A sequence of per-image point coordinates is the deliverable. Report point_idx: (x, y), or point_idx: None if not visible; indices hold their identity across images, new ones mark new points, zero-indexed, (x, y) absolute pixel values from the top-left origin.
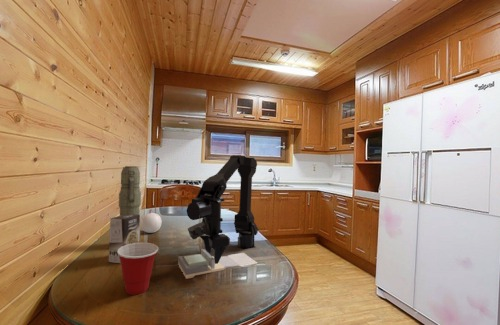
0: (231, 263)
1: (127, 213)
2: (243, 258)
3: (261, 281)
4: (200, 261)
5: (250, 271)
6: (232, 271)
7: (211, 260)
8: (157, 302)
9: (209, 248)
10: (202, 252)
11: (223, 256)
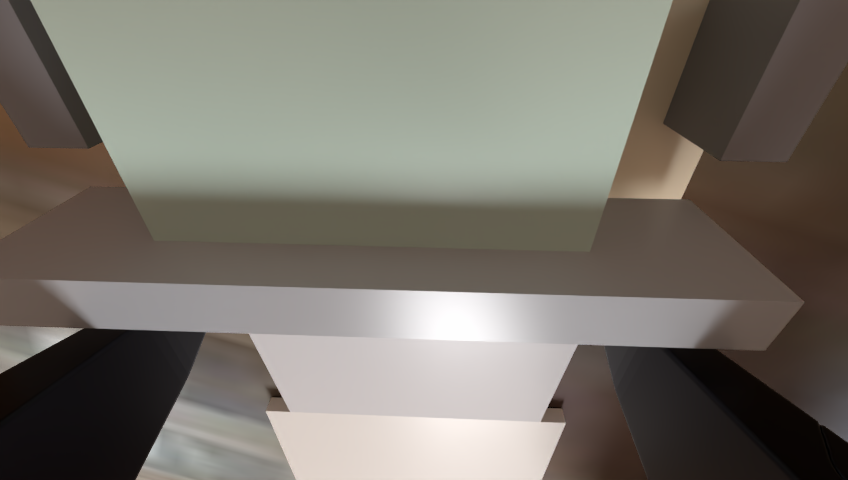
0: (339, 389)
1: None
2: (420, 466)
3: None
4: (53, 27)
5: (197, 417)
6: (215, 338)
7: None
8: None
9: (648, 416)
10: (647, 258)
11: (550, 396)
